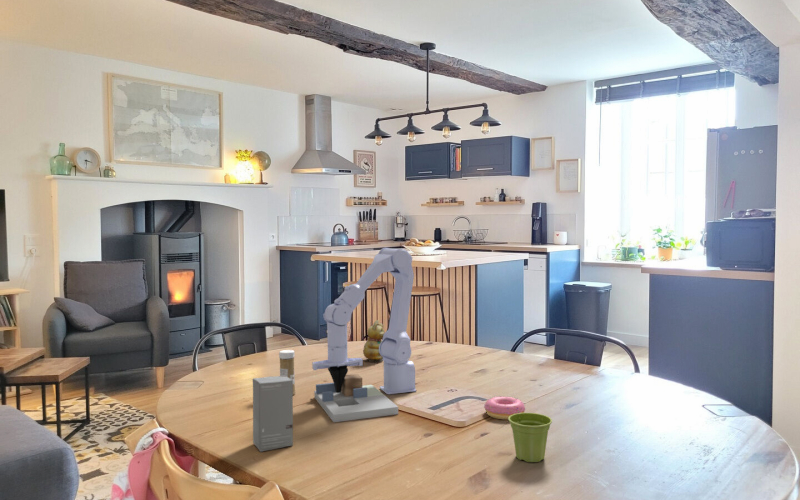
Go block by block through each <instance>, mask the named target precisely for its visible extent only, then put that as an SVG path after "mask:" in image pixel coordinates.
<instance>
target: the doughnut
mask: <svg viewBox="0 0 800 500" xmlns="http://www.w3.org/2000/svg"><path fill="white" fill-rule="evenodd" d="M483 408H484V410H486V412H487V413H486V412H485V413H486V414H487V416H489V417H491V418H493V419H497V420H507V421H509V420H508V418H509V416H511V415H513V414H517V413H525V411H526V407H525V403H524V402H523V401H522V400H521V399H518V397H517V398H516V397H511V396H500V395H499V396H494V397H490V398H489V399H487V400H486V401H485V402H484V407H483Z"/></svg>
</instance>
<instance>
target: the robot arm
mask: <svg viewBox="0 0 800 500" xmlns="http://www.w3.org/2000/svg"><path fill="white" fill-rule="evenodd" d="M412 263H413V256H412V255H411V253H410V252H409V251H408V250H406V249H405V248H390V247H383V248H381V249H380V250H379V252H378V253H377V254H375V256H373V260H372V261H371V264H370V265H369V266H368V267H367V269H365V271H364V272H363V274H362V275H361V276H360V278H359V279H358V281H357V282H356V283H353V284H349V285H346V286H345V287H344V290H343V292H342V293H341V294H340V296H339V297H338V298H335V300H334V301H333V302H334V303H331V304H329V305H328V306H327V307H326V308H325V311H324V313H323V314H322V317H323V320H324V321H325V322H326V327H327V329H326V330H327V331H326V333H327V335H326V336H327V359H324V360H319V361H312V367H311V368H312V370H313V371H318V370H323V369H327V370H328V372H329V374H330V376H331V379H332V383H334V386H335V391H336V392H337V393H341V388H342V384H343V381H344V378H345V376H346V375H348V372H349V368H348V367H356V366H358V367H361V366H363V363H364V361H363V358H361V357H350V358H349V357H348V323H349V322H351V318H352V314H353V312H354V310H355V309H356V308H357V307H358V305H360V303H361V302H362V301H363V300H364V299H365V297H366V293H365V292H366V291H367V289H368V288H369V287H371V286H372V284H373V283H374V282H375V281H376V280H377V279H378V278H379V277H380V276H381V275H382V274H383V273H387V272H389V273H390V274H391V275H392V277H393V278H394V280H395V282H394V288H393V296H392V303H391V309H390V310H391V311H390V318H389V322H388V323H389V324H388V325H389V326H388V329H387V330H386V331H384V332H385V333H384V335H383V338H382V339H381V341H382V342H381V343H380V345H379V353H380V355H381V356H382V357H383V360H382V362H383V385H380V386H379V389H380V390H381V391H382V392H384V393H385V394H386V395H395V394H402V393H403V394H404V393H411V392H417V389H416V366H415V364H414V362H413V361H412V360H410V359H411V356H412V348H411V338H410V336H409V335H408V333H407V327H408V320H409V314H410V306H411V301H412V300H411V299H412V292H413V286H414V285H413V284H414V279H415V278H414V277H415V276H414V270H413V265H412Z"/></svg>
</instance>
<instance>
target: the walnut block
mask: <svg viewBox="0 0 800 500" xmlns="http://www.w3.org/2000/svg"><path fill="white" fill-rule="evenodd" d="M362 386H363V377H362V376H361V375H360V374H359V373H354V374H353V373H351V374H346V376H345V378H344V381H343V384H342V388H341V392H342V393H343V394H344V395H345V396H353V389H355V388H362Z"/></svg>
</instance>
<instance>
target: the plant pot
mask: <svg viewBox="0 0 800 500" xmlns="http://www.w3.org/2000/svg"><path fill="white" fill-rule="evenodd" d="M507 421H509V424H510V428H511V430H512V436H513V442H514V443H513V444H514V450H515V455H516V458H517V459H518V460H520V461H521V460H523V461H525V462H526V463H539V462H541V461H542V460H544V459H545V456H546V448H547V441H548V433H549V430H550V427H551V425H552V423H553V419H552V418H551V417H550V416H547V415H545V414H543V413H542V414H541V413H535V412H524V413H517V414H513V415H511V416H509V418H508V420H507Z"/></svg>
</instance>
